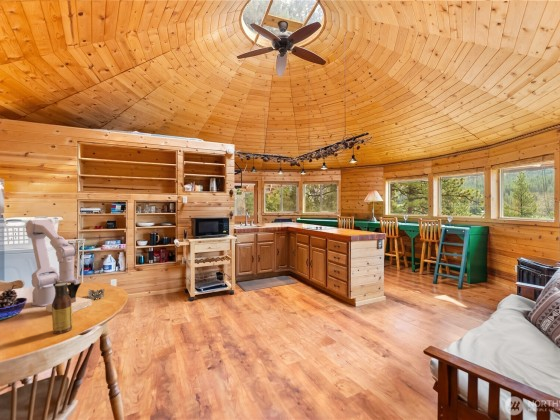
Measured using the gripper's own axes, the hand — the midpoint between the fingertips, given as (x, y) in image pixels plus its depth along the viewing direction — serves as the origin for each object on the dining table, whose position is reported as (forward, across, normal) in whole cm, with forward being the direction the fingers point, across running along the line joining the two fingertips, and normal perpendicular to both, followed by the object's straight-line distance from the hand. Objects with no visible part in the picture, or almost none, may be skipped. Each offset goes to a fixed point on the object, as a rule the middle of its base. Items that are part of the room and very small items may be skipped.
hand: (67, 297), depth 129 cm
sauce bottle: (+6, +22, -17) cm, 28 cm away
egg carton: (+6, -2, +16) cm, 18 cm away
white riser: (+6, 0, +1) cm, 6 cm away
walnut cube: (+3, 0, 0) cm, 3 cm away
